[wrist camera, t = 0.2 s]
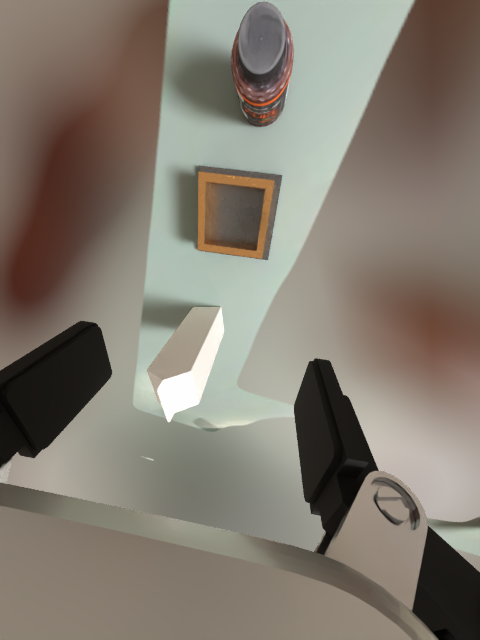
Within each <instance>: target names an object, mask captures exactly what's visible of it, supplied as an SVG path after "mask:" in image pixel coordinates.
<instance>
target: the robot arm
mask: <svg viewBox="0 0 480 640" xmlns="http://www.w3.org/2000/svg"><path fill="white" fill-rule="evenodd" d="M111 375H112V369H111V365H110V362H109V358H108V354H107V350H106V346H105V342H104V339H103V335H102V331H101V329H100V327H98V325H97V324H96V323H92V322H85V321H80V322H78V323H76V324H75V325H73V326H71V327H70V328H68V329H67V330H65V331H63V332H62V333H60V334H59V335H57V336H55V337H54V338H52V339H50V340H49V341H47V342H46V343H44V344H42V345H41V346H39V347H38V348H36V349H34V350H33V351H31V352H30V353H28V354H26V355H25V356H23V357H22V358H20V359H19V360H17V361H15V362H14V363H12V364H11V365H9V366H7V367H5V368H4V369H2V370H1V371H0V640H480V572H479V571H477V570H476V569H475V568H474V567H473V566H472V565H471V564H470V563H469V562H468V561H466V560H465V559H464V558H463V557H462V556H461V555H460V554H459V553H458V552H456V551H455V550H454V549H453V548H452V547H451V546H450V545H449V544H448V543H447V542H446V541H444V540H443V539H442V538H441V537H440V536H439V535H438V534H437V533H436V532H435V531H433V530H432V529H431V528H430V527H429V526H428V522H427V517H426V514H425V511H424V509H423V507H422V505H421V503H420V502H419V500H418V498H417V497H416V496H415V494H414V493H413V492H412V491H411V490H410V488H408V487H407V486H406V485H405V484H404V483H403V482H402V481H401V480H399V479H398V478H396V477H394V476H393V475H391V474H388V473H386V472H384V471H379V470H378V468H377V466H376V463H375V461H374V458H373V456H372V453H371V451H370V449H369V446H368V443H367V441H366V438H365V436H364V434H363V431H362V429H361V426H360V424H359V421H358V419H357V416H356V414H355V411H354V409H353V407H352V404H351V402H350V400H349V398H348V397H347V396H345V395H343V393H342V391H341V388H340V386H339V383H338V380H337V378H336V375H335V373H334V370H333V367H332V365H331V362H330V361H329V360H322V359H314V361H310V362H309V364H308V366H307V369H306V372H305V375H304V378H303V381H302V384H301V387H300V390H299V392H298V395H297V398H296V401H295V405H294V415H295V423H296V432H297V440H298V448H299V457H300V466H301V474H302V483H303V492H304V498H305V501H306V502H308V503H310V509H311V514H315V515H320V516H321V521H322V526H323V529H324V530H325V532H324V534H323V536H322V538H321V539H320V541H319V543H318V545H317V547H316V549H315V551H314V552H312V551H309V550H305V549H302V548H299V547H295V546H292V545H288V544H284V543H279V542H275V541H271V540H267V539H263V538H258V537H254V536H250V535H246V534H242V533H237V532H233V531H228V530H223V529H219V528H214V527H210V526H205V525H201V524H196V523H191V522H187V521H182V520H177V519H173V518H168V517H163V516H158V515H154V514H149V513H144V512H140V511H135V510H130V509H126V508H121V507H116V506H111V505H106V504H102V503H96V502H92V501H87V500H82V499H78V498H73V497H68V496H63V495H58V494H54V493H49V492H44V491H39V490H34V489H29V488H24V487H19V486H14V485H10V484H6V483H7V479H8V474H9V469H10V465H11V461H12V457H13V456H14V455H15V454H16V452H18V453H19V454H20V455H21V456H26V457H31V458H35V457H36V456H37V455H38V453H39V452H40V451H41V450H42V449H45V448H46V447H48V446H49V445H50V444H51V443H52V442H53V440H54V439H55V438H56V437H57V436H58V435H59V434H60V433H61V432H62V431H63V430H64V428H65V427H66V426H67V425H68V424H69V423H70V422H71V421H72V420H73V419H74V417H75V416H76V415H77V414H78V413H79V412H80V411H81V410H82V409H83V408H84V407H85V405H86V404H87V403H88V402H89V401H90V400H91V399H92V398H93V397H94V395H95V394H96V393H97V392H98V391H99V390H100V389H101V388H102V387H103V386H104V385H105V383H106V382H107V381H108V380H109V379H110V377H111Z"/></svg>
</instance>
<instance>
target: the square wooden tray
mask: <svg viewBox="0 0 480 640" xmlns="http://www.w3.org/2000/svg"><path fill="white" fill-rule="evenodd" d="M281 180H282V175H274V174H266V173H257V172H248V171H240V170H231V169H222V168H214V167H205V166H200V172H198V250H199V251H205V252H213V253H220V254H227V255H234V256H242V257H249V258H256V259H264V260H268V256H269V250H270V244H271V238H272V232H273V227H274V221H275V215H276V209H277V203H278V197H279V191H280V185H281Z"/></svg>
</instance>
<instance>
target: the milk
mask: <svg viewBox="0 0 480 640" xmlns="http://www.w3.org/2000/svg"><path fill="white" fill-rule="evenodd" d="M223 334H224V326H223V318H222V310H221V307H193V308H192V309H191V310H190V312H189V313H188V315H187V316H186V317H185V319H184V320H183V321H182V323H181V324H180V325H179V327H178V328H177V329H176V331H175V332H174V334H173V335H172V336H171V338H170V339H169V340H168V342H167V343H166V344H165V346H164V347H163V349H162V350H161V351H160V353H159V354H158V355H157V357H156V358H155V359H154V361H153V362H152V363H151V365H150V366H149V368H148V369H147V372H148V374H149V377H150V380H151V382H152V385H153V388H154V391H155V393H156V396H157V399H158V401H159V403H161V405H162V407H163V410H164V413H165V416H166V418H167V421H168V422H170V421H171V418H172V416H173V414H174V413H176V412H179V411H181V410H184V409H187V408H189V407H192V406H195V405H197V404H199V401H200V399H201V396H202V393H203V390H204V387H205V384H206V382H207V379H208V376H209V373H210V370H211V367H212V365H213V362H214V359H215V356H216V353H217V351H218V348H219V345H220V342H221V339H222V336H223Z"/></svg>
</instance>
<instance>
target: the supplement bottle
mask: <svg viewBox="0 0 480 640" xmlns="http://www.w3.org/2000/svg"><path fill="white" fill-rule="evenodd" d="M293 57H294V50H293V40H292V36H291V32H290V30H289V27H288V25H287V23H286V22H285V20H284V19H283V18H282V15H281V13H280V12H279V10H278V9H277V8H276V7H275V6H274V5H272V4H271V3H268V2H259V3H257V4H255V5H253V6H252V7H251V8H250V9H249V10H248V11H247V13H246V14H245V16H244V17H243V19H242V22H241V24H240V28H239V30H238V32H237V34H236V37H235V40H234V44H233V48H232V56H231V66H232V74H233V78H234V83H235V86H236V90H237V94H238V98H239V101H240V105H241V108H242V111H243V113H244V115H245V117H246V118H247V120H248V121H249V122H250V123H252V124H254V125H256V126H261V127H262V126H267V125H269V124H271V123H273V122H274V121H275V120H276V119H277V118H278V117H279V116H280V114H281V112H282V111H283V108H284V106H285V102H286V98H287V93H288V87H289V82H290V77H291V72H292V66H293Z"/></svg>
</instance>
